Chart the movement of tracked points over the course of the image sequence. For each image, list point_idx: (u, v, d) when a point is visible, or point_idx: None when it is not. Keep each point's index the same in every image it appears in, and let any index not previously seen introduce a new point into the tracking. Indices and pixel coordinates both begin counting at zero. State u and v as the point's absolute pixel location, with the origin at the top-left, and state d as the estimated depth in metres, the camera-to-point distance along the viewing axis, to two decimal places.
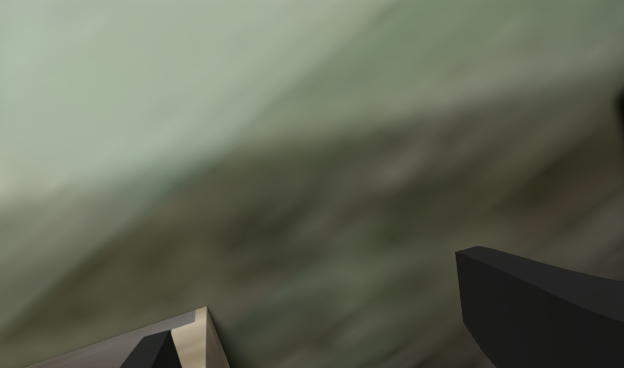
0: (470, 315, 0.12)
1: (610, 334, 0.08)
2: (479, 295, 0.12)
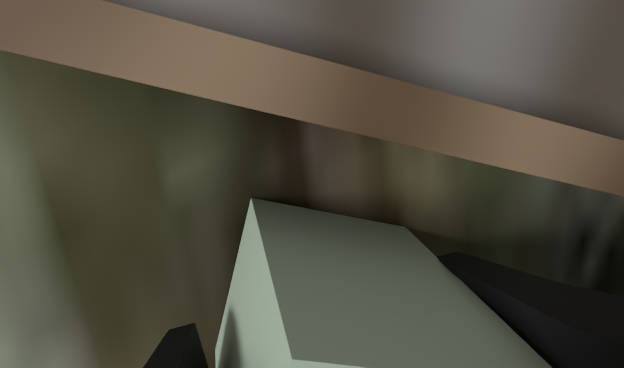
0: None
1: (576, 345, 0.07)
2: None
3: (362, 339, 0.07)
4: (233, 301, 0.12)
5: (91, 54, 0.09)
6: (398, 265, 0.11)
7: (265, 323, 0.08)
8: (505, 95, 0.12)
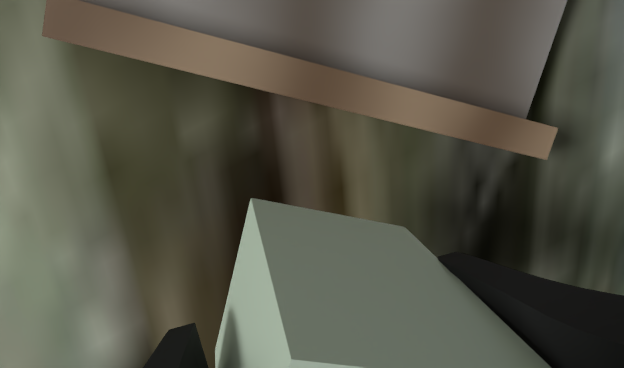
0: None
1: (575, 345, 0.07)
2: None
3: (362, 339, 0.07)
4: (233, 301, 0.12)
5: (140, 50, 0.15)
6: (398, 266, 0.11)
7: (265, 323, 0.08)
8: (408, 79, 0.19)
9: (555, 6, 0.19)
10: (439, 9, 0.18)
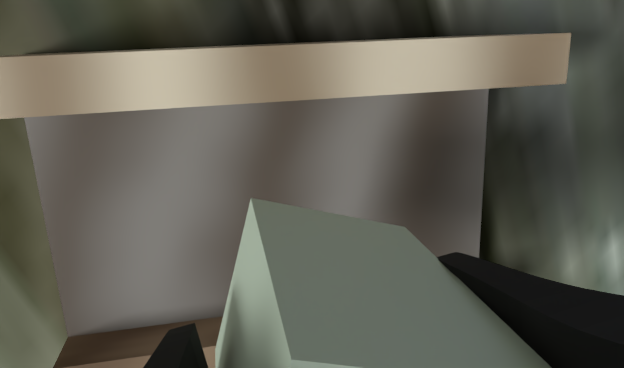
0: None
1: (575, 345, 0.07)
2: None
3: (362, 340, 0.07)
4: (233, 301, 0.12)
5: None
6: (399, 266, 0.11)
7: (265, 323, 0.08)
8: None
9: (474, 190, 0.21)
10: None
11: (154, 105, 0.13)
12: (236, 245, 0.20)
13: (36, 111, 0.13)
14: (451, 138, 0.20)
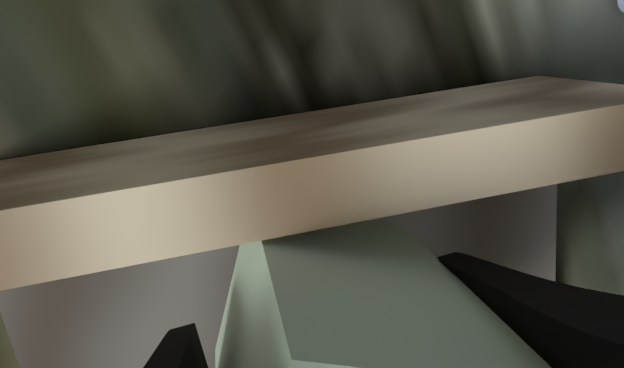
0: None
1: (576, 345, 0.07)
2: None
3: (362, 339, 0.07)
4: (233, 301, 0.12)
5: None
6: (399, 266, 0.11)
7: (265, 323, 0.08)
8: None
9: (545, 265, 0.17)
10: None
11: (131, 260, 0.10)
12: None
13: None
14: (514, 208, 0.16)
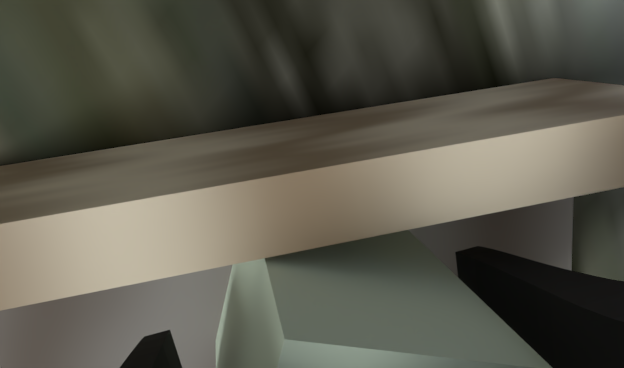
0: None
1: (610, 334, 0.08)
2: (479, 295, 0.12)
3: (352, 323, 0.08)
4: (232, 292, 0.13)
5: None
6: (390, 256, 0.11)
7: (261, 309, 0.09)
8: None
9: None
10: None
11: (123, 280, 0.09)
12: None
13: None
14: (528, 217, 0.15)
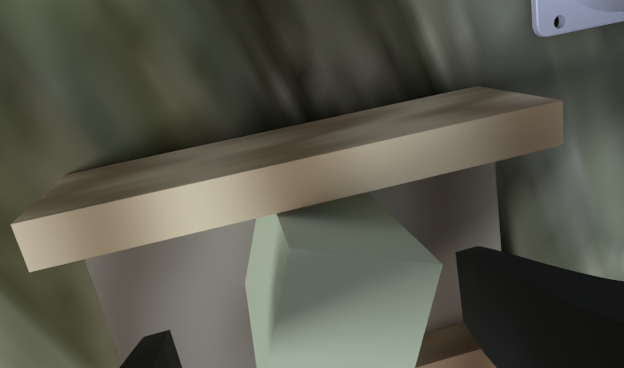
0: (470, 315, 0.12)
1: (610, 334, 0.08)
2: (479, 295, 0.12)
3: (327, 242, 0.14)
4: (255, 245, 0.19)
5: None
6: (357, 213, 0.17)
7: (276, 242, 0.15)
8: None
9: (491, 229, 0.22)
10: None
11: (194, 229, 0.15)
12: None
13: (95, 252, 0.15)
14: (463, 186, 0.21)
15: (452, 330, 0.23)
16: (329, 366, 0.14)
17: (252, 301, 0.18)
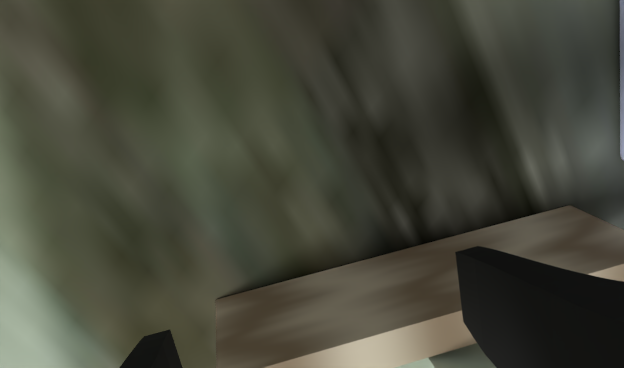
0: (470, 315, 0.12)
1: (610, 334, 0.08)
2: (479, 295, 0.12)
3: None
4: None
5: None
6: None
7: None
8: None
9: None
10: None
11: None
12: None
13: None
14: None
15: None
16: None
17: None
